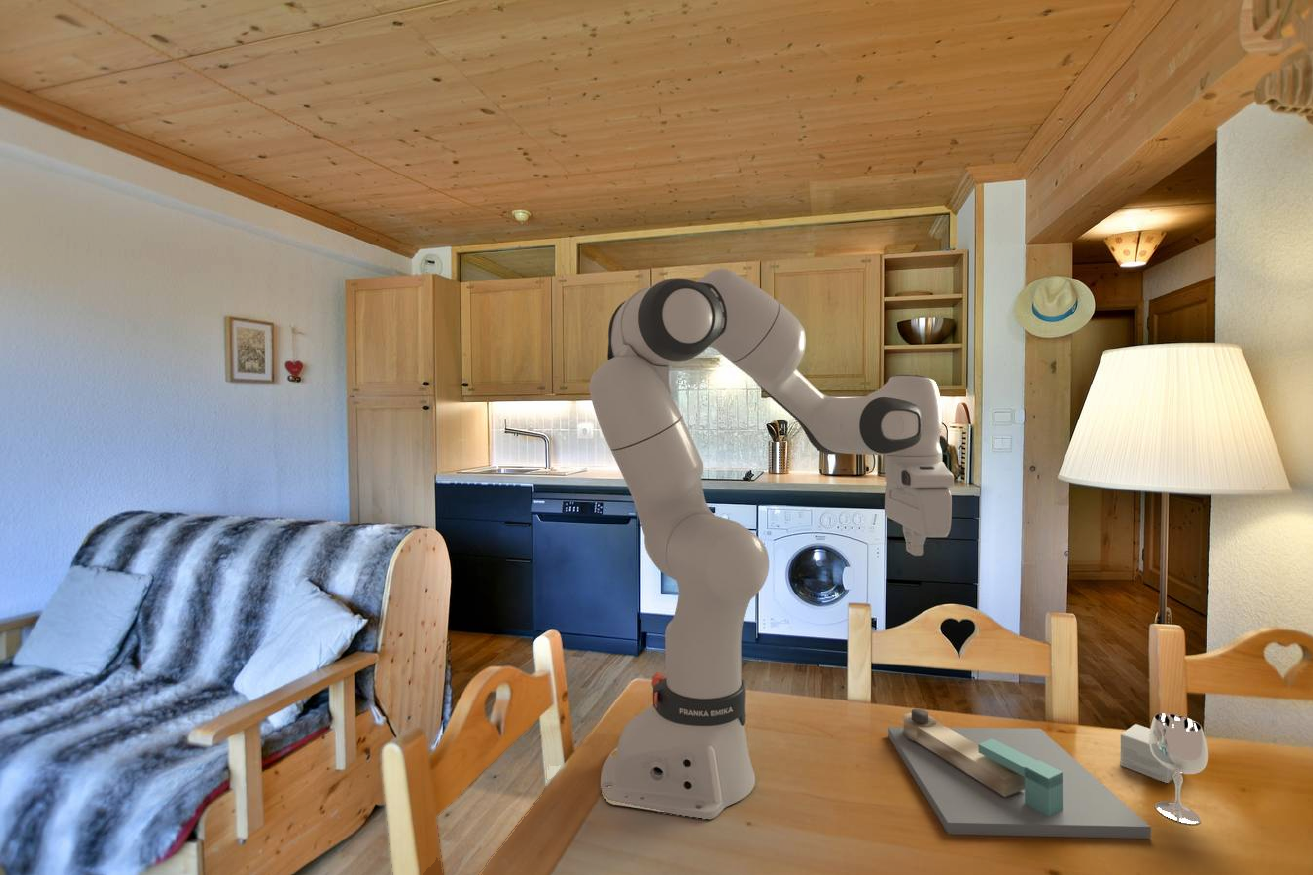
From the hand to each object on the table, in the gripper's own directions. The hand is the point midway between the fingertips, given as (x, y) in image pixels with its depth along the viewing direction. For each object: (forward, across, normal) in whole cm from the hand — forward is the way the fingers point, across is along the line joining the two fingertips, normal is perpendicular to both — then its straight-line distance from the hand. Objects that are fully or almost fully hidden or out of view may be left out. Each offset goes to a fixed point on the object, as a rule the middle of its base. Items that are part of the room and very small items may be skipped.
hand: (914, 553), depth 99 cm
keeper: (+28, +21, +6) cm, 35 cm away
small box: (+30, +12, +29) cm, 43 cm away
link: (+27, +13, +1) cm, 30 cm away
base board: (+29, +16, +6) cm, 34 cm away
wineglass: (+29, +22, +25) cm, 44 cm away
